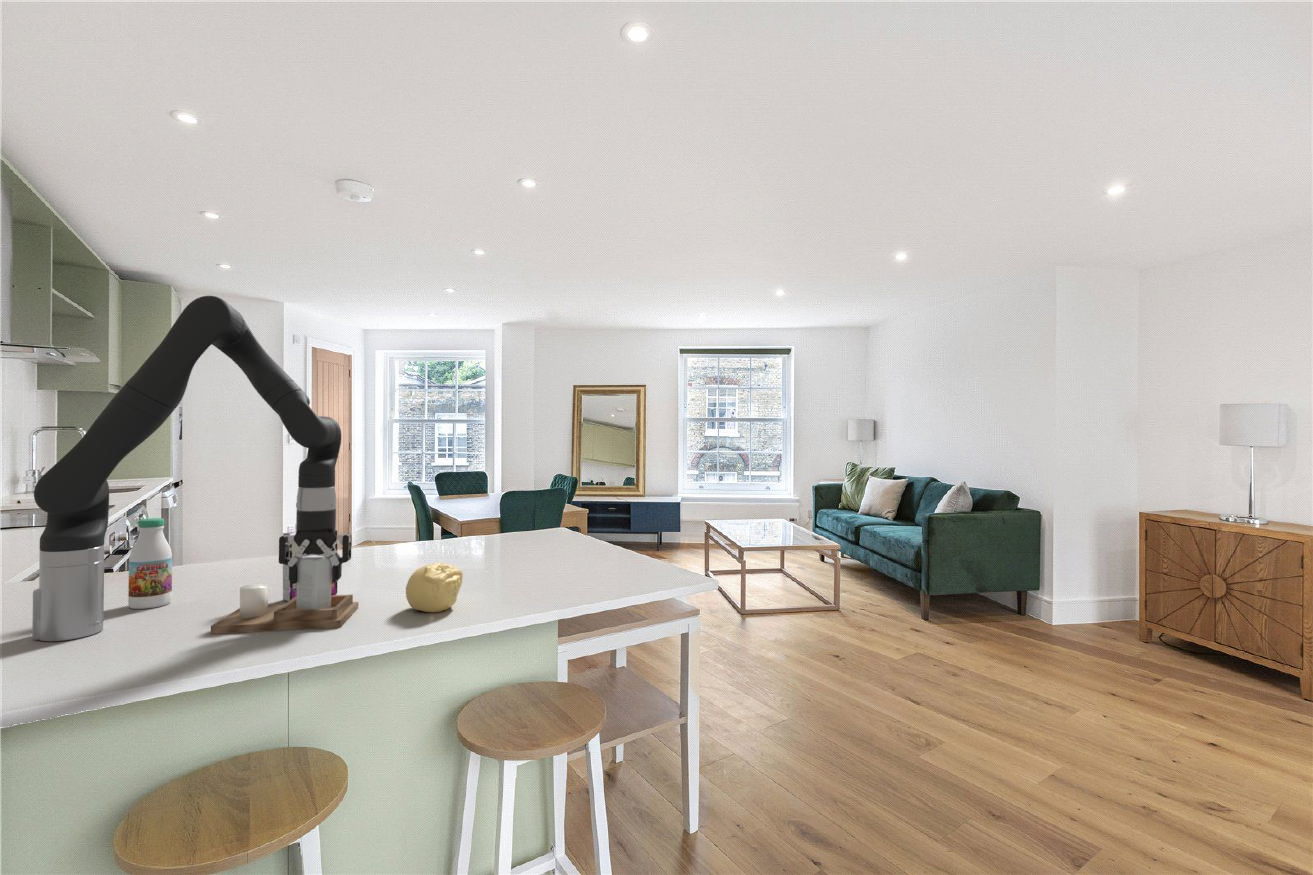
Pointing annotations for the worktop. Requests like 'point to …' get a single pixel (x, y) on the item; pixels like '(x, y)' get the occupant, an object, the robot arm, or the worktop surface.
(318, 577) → the skincare box
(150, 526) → the milk bottle
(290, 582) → the candy bar box
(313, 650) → the worktop surface
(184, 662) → the worktop surface
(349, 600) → the walnut organizer
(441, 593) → the sculpture
